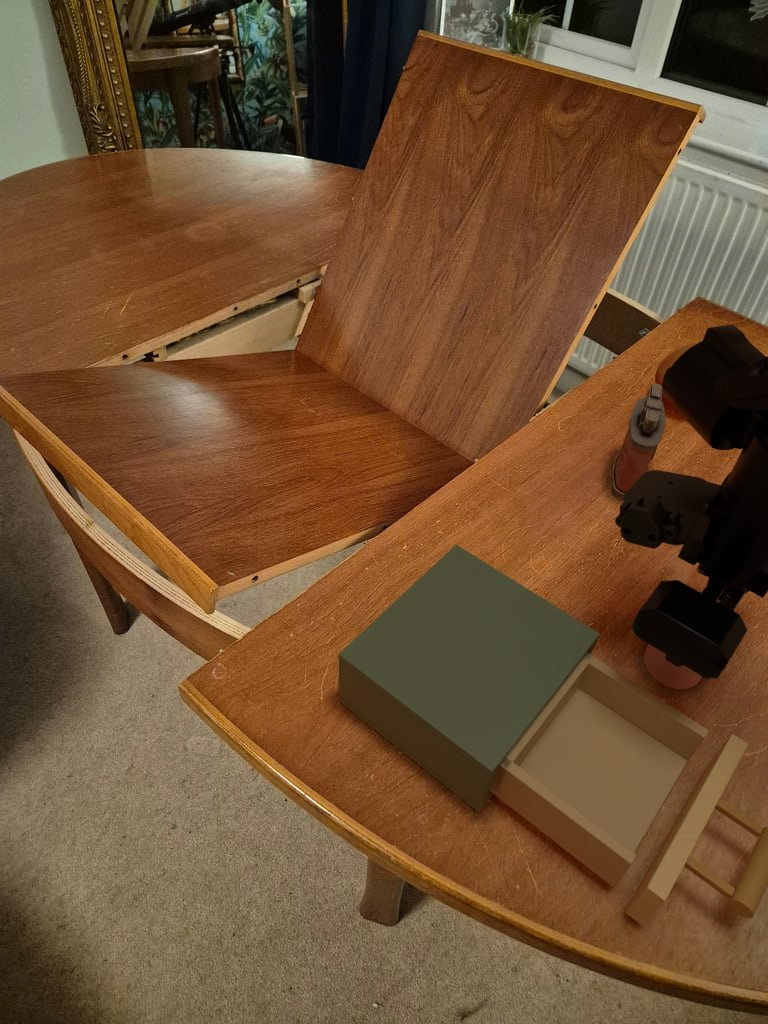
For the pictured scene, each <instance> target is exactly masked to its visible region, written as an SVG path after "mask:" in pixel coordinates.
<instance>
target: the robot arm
mask: <svg viewBox="0 0 768 1024" xmlns="http://www.w3.org/2000/svg"><path fill="white" fill-rule="evenodd" d="M695 344H696V345H694V346H692V347H691V348H689V349H688V350H687V351H686V352H684V353H683V354H682V355H681V356H680V357H679V358H678V359H677V360H676V361H675V362H674V364H673V365H672V367H670V368H668V369H667V370H666V372H665V375H664V377H663V382H662V392H663V394H664V396H665V398H666V399H667V400H668V401H669V402H670V403H671V404H672V405H673V406H674V407H675V408H674V407H673V408H674V409H675V411H677V412H678V414H680V415H681V416H682V417H683V419H684V420H685V421H686V422H687V423H688V424H689V425H690V426H691V427H692V429H693V430H695V432H696V433H697V434H698V435H699V436H700V437H701V438H702V440H704V441H705V442H706V443H707V445H709V447H710V448H712V449H714V450H717V451H729V450H735V449H737V450H741V452H740V454H739V456H738V458H737V460H736V461H735V463H734V466H733V468H732V469H731V471H730V472H729V473H728V474H727V475H726V477H725V478H724V479H723V481H722V482H721V484H718V483H714V482H712V481H707V480H706V479H705V478H702V477H698V476H693V475H688V474H682V473H677V472H672V471H671V472H670V471H667V470H660V469H659V470H658V469H652V470H646V472H645V473H644V474H643V475H642V476H641V477H640V478H639V479H638V480H637V481H636V482H635V483H634V484H633V485H632V487H631V488H630V489H629V490H628V491H627V492H626V493H625V494H624V501H622V503H621V504H620V505H619V513H618V515H617V516H616V518H615V519H614V523H615V525H616V526H617V527H618V528H620V536H621V538H622V539H623V540H624V541H625V542H626V543H629V544H633V545H637V546H641V547H644V548H648V549H653V550H655V549H658V548H659V547H660V546H661V545H662V544H667V545H672V546H682V547H681V549H680V551H679V553H678V555H677V558H679V559H681V560H682V561H684V562H686V563H688V564H690V565H692V566H696V565H697V564H698V565H697V567H696V572H697V573H698V574H700V575H702V576H703V577H707V583H706V586H705V587H704V589H703V590H702V591H699V592H698V590H697V589H694V588H693V587H691V586H690V585H688V584H687V583H684V582H682V581H680V580H679V579H670V580H661V581H659V583H658V585H656V587H655V588H654V590H653V591H652V592H651V594H650V595H649V597H648V598H647V599H646V600H645V601H644V603H643V605H641V607H640V608H639V610H638V612H637V614H636V616H635V618H634V620H633V622H632V625H631V628H632V631H633V634H634V636H635V637H636V638H638V639H640V640H641V641H642V642H645V643H646V644H650V645H651V646H653V647H654V648H656V649H658V650H659V651H661V652H663V653H664V654H665V659H666V660H667V661H668V662H670V663H672V664H673V665H675V666H677V667H679V666H683V665H684V666H686V667H687V668H689V669H691V670H692V671H694V672H695V673H697V674H699V675H700V676H702V678H704V679H705V680H712V679H713V680H714V679H719V677H720V676H721V675H722V673H723V671H724V670H725V669H726V667H727V665H728V664H729V662H731V659H732V658H733V656H734V654H735V652H736V651H737V649H738V648H739V646H740V644H741V642H742V641H743V639H744V638H745V636H746V635H747V633H748V631H749V630H748V627H746V626H747V625H746V624H745V622H744V620H743V618H742V616H741V614H739V613H738V612H736V611H735V610H736V608H737V607H738V605H739V603H741V600H743V597H744V596H745V595H746V594H748V593H749V592H751V593H753V594H755V595H757V596H758V597H760V598H762V599H764V597H766V594H767V593H768V355H767V356H766V355H765V354H764V353H763V352H762V351H760V350H759V349H758V348H757V347H756V346H755V345H754V344H753V343H751V342H750V340H749V339H748V338H747V336H746V335H745V333H744V332H743V331H742V330H741V329H740V328H738V327H737V326H736V325H735V324H734V323H733V324H732V323H731V324H725V325H719V326H711V327H708V328H707V329H706V331H705V333H704V336H703V338H702V340H701V341H699V342H698V344H697V343H695ZM700 592H702V593H700ZM717 599H718V600H719V601H721V602H720V603H718V602H716V601H717Z"/></svg>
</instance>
